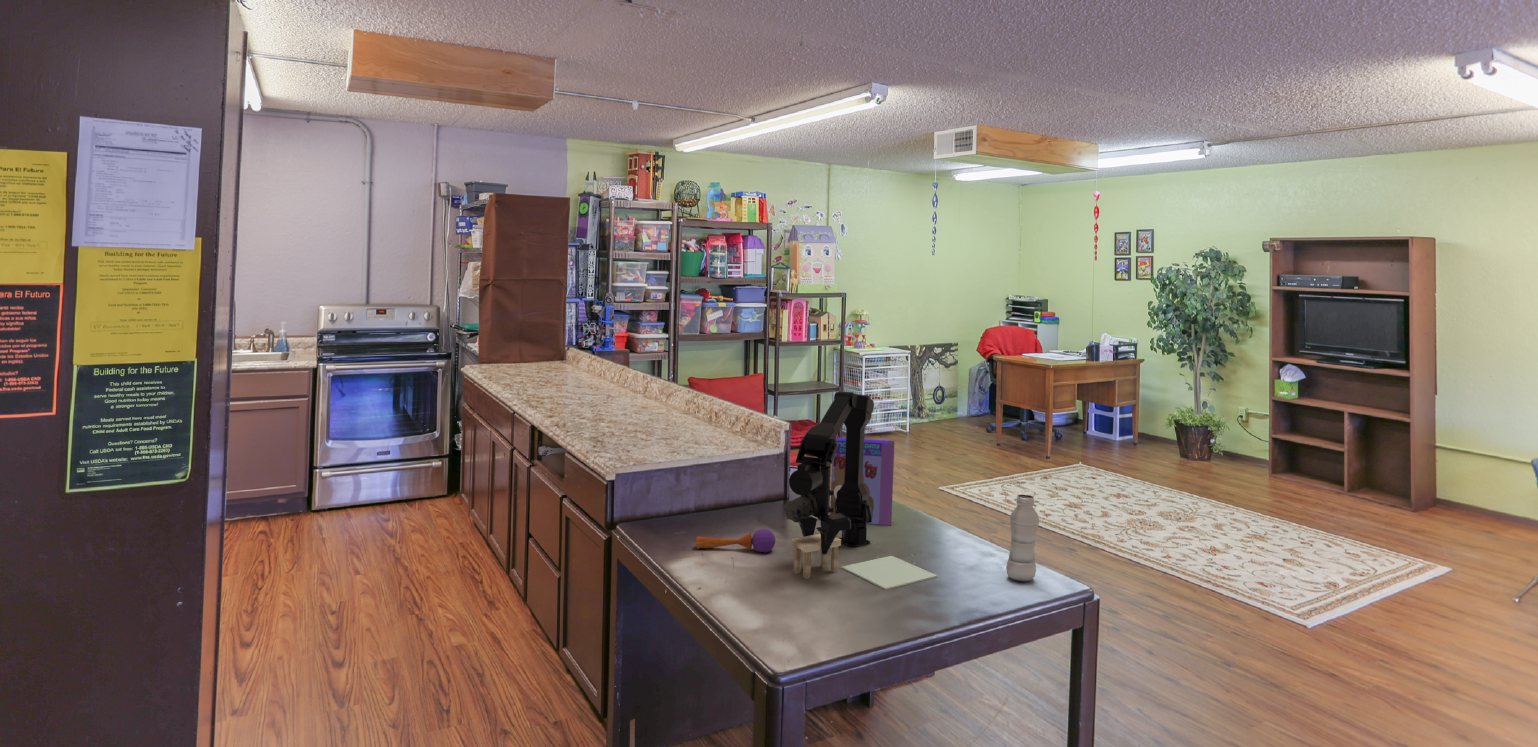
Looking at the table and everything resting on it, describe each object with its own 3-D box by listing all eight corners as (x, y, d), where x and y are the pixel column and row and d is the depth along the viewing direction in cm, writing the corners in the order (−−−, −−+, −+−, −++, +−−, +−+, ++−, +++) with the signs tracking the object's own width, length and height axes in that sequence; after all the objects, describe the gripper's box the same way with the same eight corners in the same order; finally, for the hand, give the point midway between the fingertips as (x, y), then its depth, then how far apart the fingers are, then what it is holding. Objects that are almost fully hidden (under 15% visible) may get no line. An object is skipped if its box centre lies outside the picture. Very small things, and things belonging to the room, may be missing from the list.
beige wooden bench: (790, 571, 190) (791, 538, 189) (824, 564, 195) (825, 532, 195) (805, 579, 185) (806, 546, 184) (840, 572, 190) (841, 539, 190)
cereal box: (830, 521, 231) (832, 439, 229) (831, 517, 236) (834, 436, 233) (891, 525, 228) (894, 443, 226) (891, 521, 233) (894, 439, 231)
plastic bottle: (1001, 574, 191) (1005, 492, 189) (1029, 574, 192) (1033, 492, 189) (1011, 584, 185) (1016, 499, 182) (1040, 584, 185) (1045, 499, 183)
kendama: (698, 529, 209) (775, 527, 207) (699, 553, 208) (776, 550, 207) (694, 532, 203) (773, 529, 201) (695, 556, 202) (774, 553, 201)
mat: (841, 568, 193) (841, 566, 193) (891, 557, 202) (891, 555, 202) (885, 589, 180) (885, 588, 180) (937, 577, 189) (937, 575, 188)
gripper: (767, 481, 191) (766, 544, 193) (813, 499, 176) (811, 568, 178) (805, 475, 197) (803, 537, 199) (853, 493, 182) (851, 559, 184)
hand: (816, 550), depth 190 cm, fingers closed on beige wooden bench, 6 cm apart
